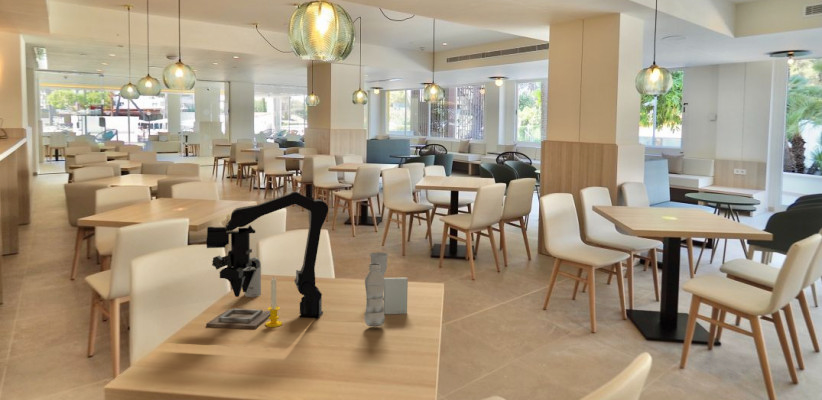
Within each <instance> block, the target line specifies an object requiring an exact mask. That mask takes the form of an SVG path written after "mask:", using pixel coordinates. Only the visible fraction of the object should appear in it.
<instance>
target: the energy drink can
mask: <svg viewBox="0 0 822 400" xmlns="http://www.w3.org/2000/svg"><path fill="white" fill-rule="evenodd" d="M250 259H258V260H259V261H260V267H259V268H257V269H255V267H252V268H253V269H255V270H257V271H256V272H255V274H254V276H253V278H252V280H251V283H250V285H249V287H248V289H247V292H244V297H247V298H256V297H259V296H261V295H262V266H261V265H262V262H261V260H260V257H256V256H255V257H253V256H252V257H250Z"/></svg>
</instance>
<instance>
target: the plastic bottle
mask: <svg viewBox="0 0 822 400" xmlns="http://www.w3.org/2000/svg"><path fill="white" fill-rule="evenodd" d="M368 267H369V268H368V270H369V272H368V274H367V275H366V277H364V278H365V279H364V286H365V297H366V300H365V301H366V303H365V304H366V305H365V311H364V312H365V313H364V322H365V323H364V324H366V326H368V327H371V328H373V327H380V326H383V324H384V323H385V319H386V318H385V317H386V316H385V315H386V314H384V311H383V310H384V300H383V298H384V284H385V279H384V278H385V276H383V275H382V274H381V272H380V270H381V264H379V263H371V262H370V263H369V265H368Z"/></svg>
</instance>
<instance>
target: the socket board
mask: <svg viewBox="0 0 822 400" xmlns="http://www.w3.org/2000/svg"><path fill="white" fill-rule="evenodd" d="M270 316H271V315H270V310H263V309H251V308H250V309H249V308H248V309H247V308H231V309H226V310H225V311H223V312H222V313H221V314H218V315H217V316H216V317H214V318H213V319H211V320H209V321H208V322H207V323H206V324H205V325H206V327H207V328H225V329H226V328H227V329H247V330H249V329H251V330H256V329H257V328H258V327H260V326H261V325H263V324H264V323H266V321H267V320H269V317H270Z"/></svg>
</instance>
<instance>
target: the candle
mask: <svg viewBox="0 0 822 400" xmlns="http://www.w3.org/2000/svg"><path fill="white" fill-rule="evenodd" d="M277 304H278V303H277V278H276V277H271V281H270V306H269V307H267V311H270V315H271V316H270V317H269V318H268V320H270V321H267V322H266V321H265V322H264V323H265V327H267V328H278V327H281V326H283V322H282V321H281V320H279V319H280V316H279V315H278V310H280V309H281V307H280V306H277Z"/></svg>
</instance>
